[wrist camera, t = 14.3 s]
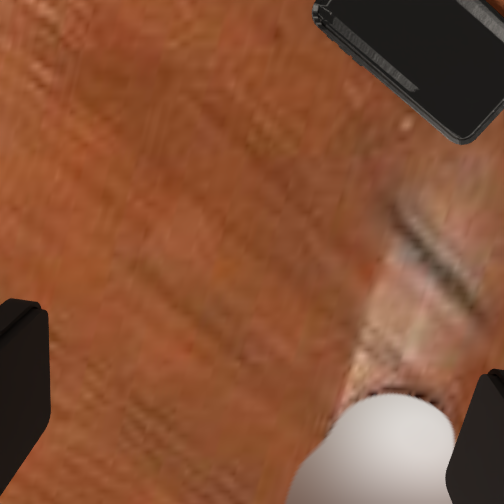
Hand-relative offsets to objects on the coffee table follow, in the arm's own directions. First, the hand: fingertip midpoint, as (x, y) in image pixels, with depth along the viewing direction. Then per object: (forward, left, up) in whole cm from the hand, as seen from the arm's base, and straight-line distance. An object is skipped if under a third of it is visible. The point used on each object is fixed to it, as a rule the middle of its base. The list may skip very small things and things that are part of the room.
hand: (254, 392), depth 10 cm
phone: (-10, +9, -29) cm, 32 cm away
